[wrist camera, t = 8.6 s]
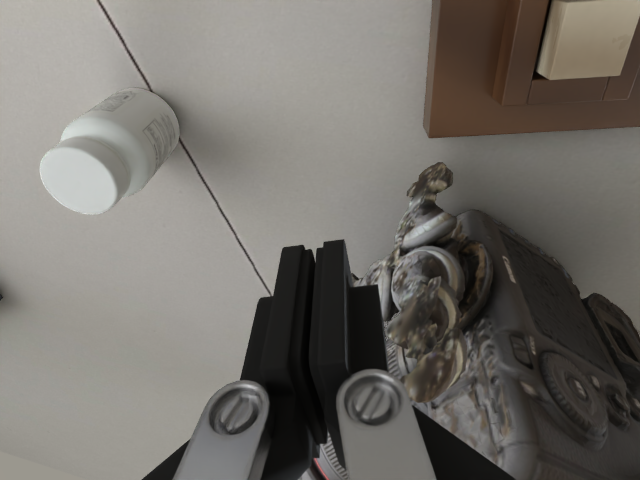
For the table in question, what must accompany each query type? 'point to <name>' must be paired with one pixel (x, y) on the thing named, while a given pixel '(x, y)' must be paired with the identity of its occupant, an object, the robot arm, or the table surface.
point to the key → (587, 38)
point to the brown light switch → (514, 75)
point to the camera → (504, 347)
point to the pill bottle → (110, 151)
